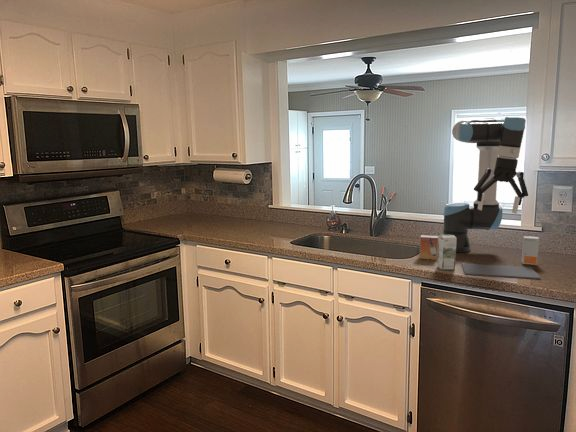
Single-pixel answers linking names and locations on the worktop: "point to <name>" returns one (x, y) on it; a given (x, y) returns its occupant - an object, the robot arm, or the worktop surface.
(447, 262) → the syrup box
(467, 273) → the charcoal mat
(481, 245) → the worktop surface
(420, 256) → the small box
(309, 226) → the worktop surface
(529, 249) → the skincare box
